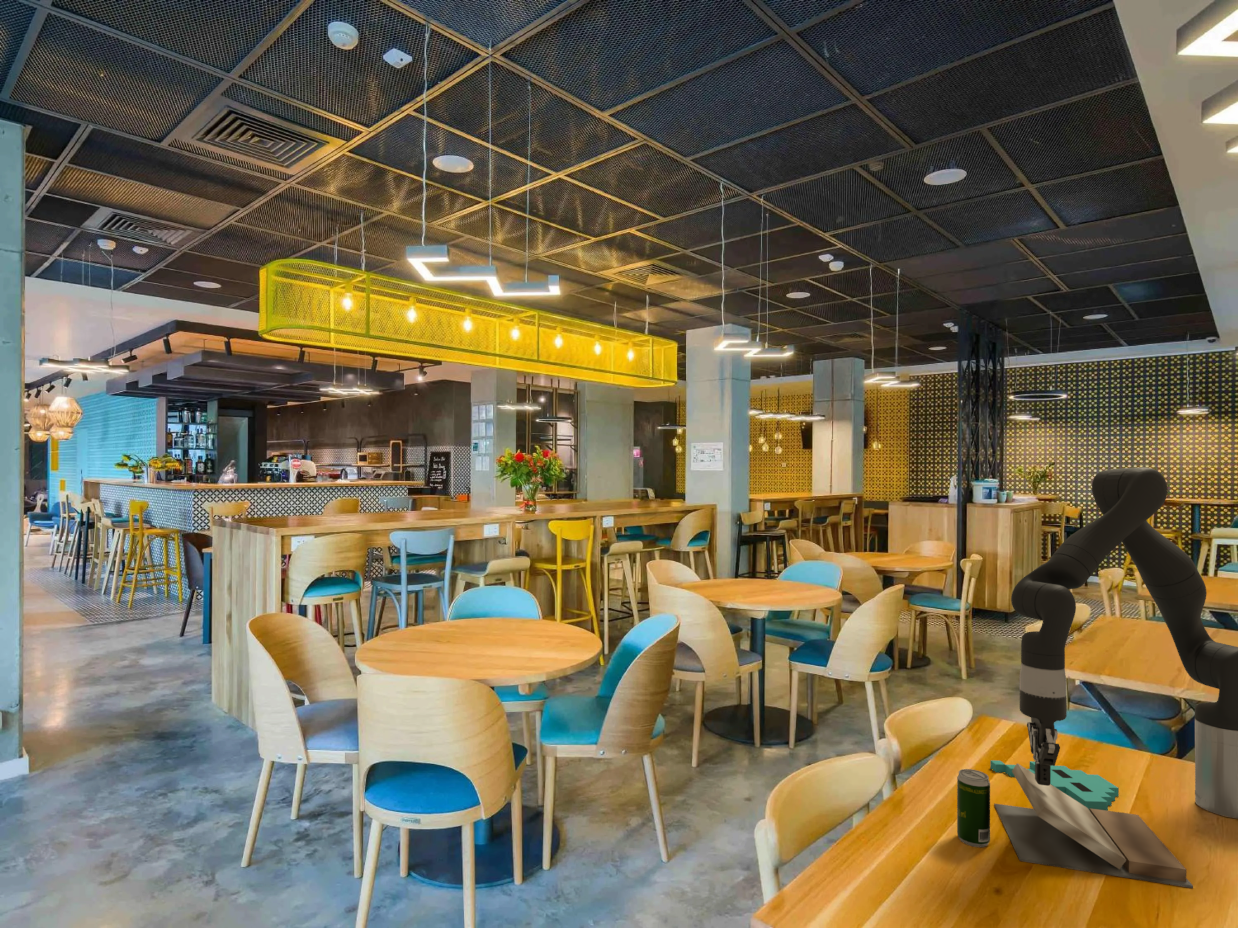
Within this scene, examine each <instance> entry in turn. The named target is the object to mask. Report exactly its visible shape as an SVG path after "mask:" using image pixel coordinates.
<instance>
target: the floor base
mask: <svg viewBox="0 0 1238 928" xmlns="http://www.w3.org/2000/svg"><path fill="white" fill-rule="evenodd" d="M993 806H994V808H995V810H996V812H997V815H998V817H999V819H1000V820H1001V823H1002V825H1003V827H1004V830H1005V832H1006V834H1007V835H1008V838H1009V841H1010V843H1011V844H1012V847H1013V848H1014V851H1015V854H1016V855H1017V858H1018V860H1019V861H1020V862H1026V863H1031V864H1032V863H1033V864H1039V865H1044V866H1051V867H1056V868H1063V869H1069V870H1076V871H1080V872H1081V871H1082V872H1089V873H1095V874H1101V875H1107V876H1114V877H1121V878H1127V879H1132V880H1137V881H1139V880H1140V881H1143V882H1145V881H1146V882H1150V883H1158V884H1164V885H1169V884H1170V886H1178V887H1182V888H1183V887H1184V888H1189V889H1193V888H1194V884H1192V883H1191V881H1190V880H1189V879H1188V878H1187V868H1185V866H1184V865H1183V864H1182V863H1181V861H1180V860H1179V859H1178V858H1177V857H1176V856H1175V855H1174V853H1173V852H1172V851H1171V850H1170V849H1169V848H1168V847H1167V846H1166V844H1165V843H1163V841H1162V840H1161V839H1160V838H1159V837H1158V836H1157V834H1155V832H1154V831H1153V830H1152V829H1151V828H1150V827H1149V826H1148V824H1147V823H1146V822H1145V821H1144V820H1143V819H1142V818H1141V816H1140V815H1139V814H1136V813H1135V814H1134V813H1128V812H1120V811H1111V810H1108V811H1106V810H1099V809H1091V808H1090V810H1089V811H1090V812H1091V813H1092V815H1093V816H1094V817H1095V819H1096V820H1097V821H1098V823H1099V824H1100V825H1101V827H1102V828H1103V829H1104V831H1105V832H1106V833H1107V835H1108V836H1109V837H1110V839H1111V840H1112V841H1113V843H1114V844H1115V845H1116V847H1117V848H1118V849H1119V851H1120V852H1121V853H1122V855H1123V856H1124V857H1125V859H1126V861H1125V863H1124V864H1123V865H1122V867H1121V868H1120V869H1118V868H1117V867H1115V866H1113V865H1112V864H1110V863H1109V862H1107V861H1106V860H1104V859H1103V858H1101V857H1100V856H1098V855H1097V854H1095V853H1094V852H1092V851H1091V850H1089V849H1087V848H1086V847H1084V846H1083V845H1081V844H1080V843H1078V842H1077V841H1075V840H1074V839H1072V838H1071V837H1069V836H1068V835H1066V834H1065V833H1063V832H1062V831H1060V830H1058V829H1057V828H1055V827H1054V826H1052V825H1051V824H1049V823H1048V822H1046V821H1045V820H1043V819H1042V818H1040V817H1039V816H1038V815H1037V814H1036V812H1035V810H1034V809H1033V808H1032V807H1023V806H1017V805H1016V806H1014V805H1008V804H1001V803H993Z"/></svg>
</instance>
